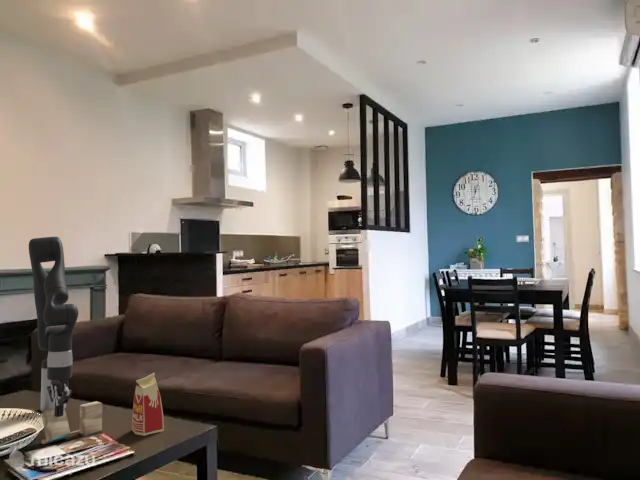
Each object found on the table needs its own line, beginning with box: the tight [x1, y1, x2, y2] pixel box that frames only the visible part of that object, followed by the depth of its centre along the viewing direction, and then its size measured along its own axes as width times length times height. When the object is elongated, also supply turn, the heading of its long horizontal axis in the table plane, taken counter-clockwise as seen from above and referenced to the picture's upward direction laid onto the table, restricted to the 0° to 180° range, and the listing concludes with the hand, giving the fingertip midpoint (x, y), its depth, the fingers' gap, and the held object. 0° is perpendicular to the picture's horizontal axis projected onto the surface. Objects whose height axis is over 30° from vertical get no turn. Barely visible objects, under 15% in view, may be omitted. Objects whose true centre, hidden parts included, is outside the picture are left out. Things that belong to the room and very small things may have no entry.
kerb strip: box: [40, 429, 80, 445], centre depth 173 cm, size 2×19×1 cm, turn 143°
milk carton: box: [131, 372, 165, 437], centre depth 178 cm, size 9×9×20 cm
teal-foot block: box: [40, 407, 71, 444], centre depth 168 cm, size 4×6×10 cm, turn 144°
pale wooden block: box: [78, 400, 103, 437], centre depth 176 cm, size 4×6×10 cm, turn 143°
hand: (59, 416), depth 167 cm, fingers closed
